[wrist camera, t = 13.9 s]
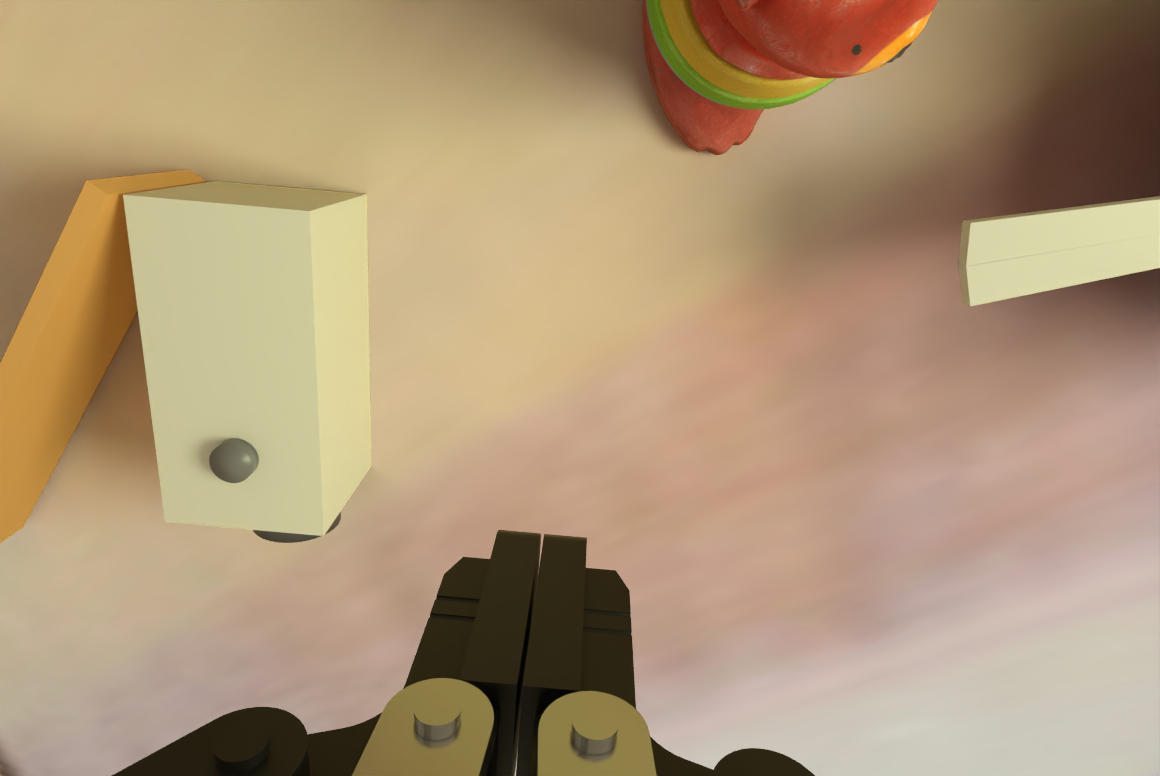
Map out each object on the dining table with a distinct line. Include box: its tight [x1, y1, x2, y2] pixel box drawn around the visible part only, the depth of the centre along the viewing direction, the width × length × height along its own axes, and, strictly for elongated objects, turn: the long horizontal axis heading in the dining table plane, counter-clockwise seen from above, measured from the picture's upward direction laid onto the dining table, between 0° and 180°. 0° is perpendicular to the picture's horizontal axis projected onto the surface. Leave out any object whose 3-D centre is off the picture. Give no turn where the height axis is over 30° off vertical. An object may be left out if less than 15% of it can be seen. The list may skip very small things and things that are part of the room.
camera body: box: [123, 181, 371, 543], centre depth 37 cm, size 17×8×9 cm, turn 175°
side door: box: [0, 169, 206, 543], centre depth 38 cm, size 26×2×8 cm, turn 144°
